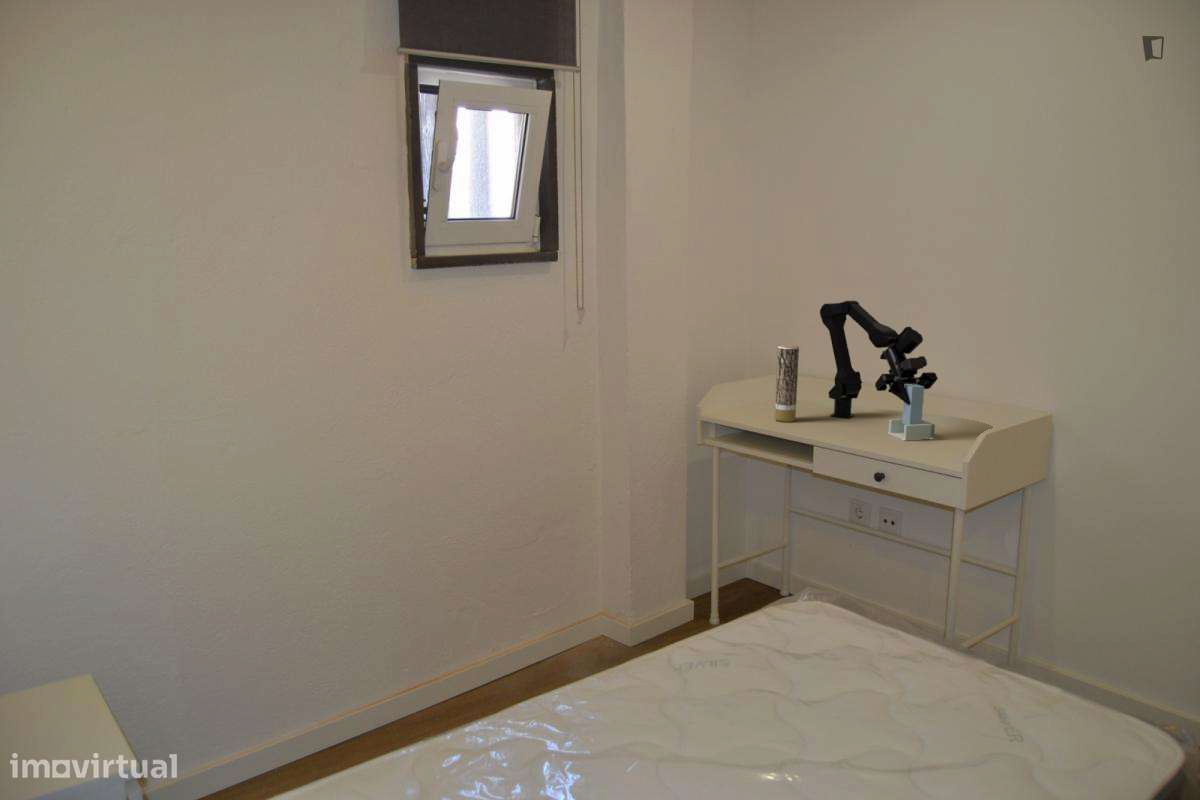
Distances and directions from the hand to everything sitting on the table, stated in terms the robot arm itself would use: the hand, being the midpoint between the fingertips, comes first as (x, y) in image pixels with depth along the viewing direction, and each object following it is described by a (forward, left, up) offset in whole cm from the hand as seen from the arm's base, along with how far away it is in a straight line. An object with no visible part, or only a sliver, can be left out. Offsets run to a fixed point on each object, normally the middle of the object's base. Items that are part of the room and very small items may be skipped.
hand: (915, 403), depth 266 cm
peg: (-1, -1, -7) cm, 7 cm away
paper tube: (-2, -42, -11) cm, 43 cm away
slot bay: (-1, -1, -10) cm, 11 cm away
